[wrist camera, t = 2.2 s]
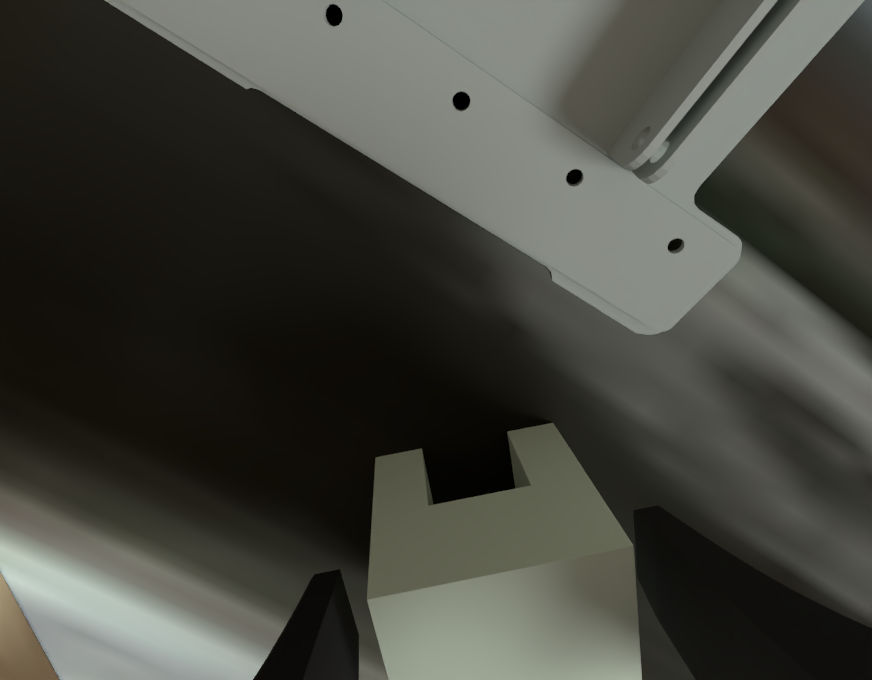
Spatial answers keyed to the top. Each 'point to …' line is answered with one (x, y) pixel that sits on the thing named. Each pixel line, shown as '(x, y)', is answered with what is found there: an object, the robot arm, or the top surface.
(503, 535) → the slotted block
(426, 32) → the metal bracket
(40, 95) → the top surface
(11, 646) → the notched rail
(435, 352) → the top surface
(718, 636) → the robot arm
